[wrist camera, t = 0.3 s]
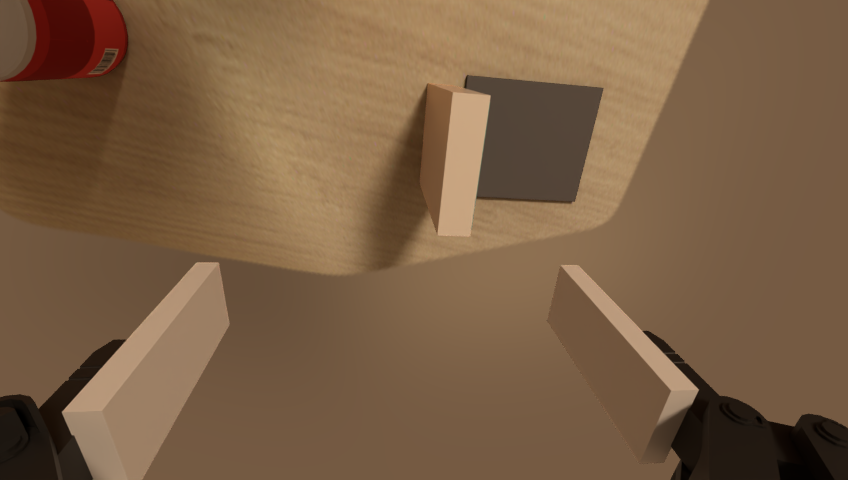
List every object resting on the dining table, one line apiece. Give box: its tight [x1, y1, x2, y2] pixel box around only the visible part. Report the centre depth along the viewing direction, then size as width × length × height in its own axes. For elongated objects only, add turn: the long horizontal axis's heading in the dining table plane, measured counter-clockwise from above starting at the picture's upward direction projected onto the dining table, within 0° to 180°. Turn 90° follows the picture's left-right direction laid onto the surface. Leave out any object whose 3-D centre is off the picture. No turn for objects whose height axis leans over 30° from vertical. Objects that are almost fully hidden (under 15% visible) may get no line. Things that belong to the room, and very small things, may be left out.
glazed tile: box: [419, 83, 491, 237], centre depth 33 cm, size 10×3×14 cm, turn 175°
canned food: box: [0, 0, 128, 82], centre depth 28 cm, size 8×8×11 cm
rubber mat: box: [465, 75, 603, 202], centre depth 41 cm, size 12×14×1 cm
